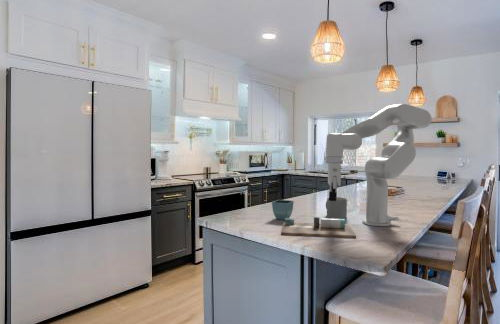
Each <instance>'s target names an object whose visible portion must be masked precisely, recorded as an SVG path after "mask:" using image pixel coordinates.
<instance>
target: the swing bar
mask: <svg viewBox="0 0 500 324" xmlns="http://www.w3.org/2000/svg"><path fill="white" fill-rule="evenodd" d="M320 224H321V227H326V228H345V225H346V219H331V218H327V217H325V218H324V217H320Z"/></svg>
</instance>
